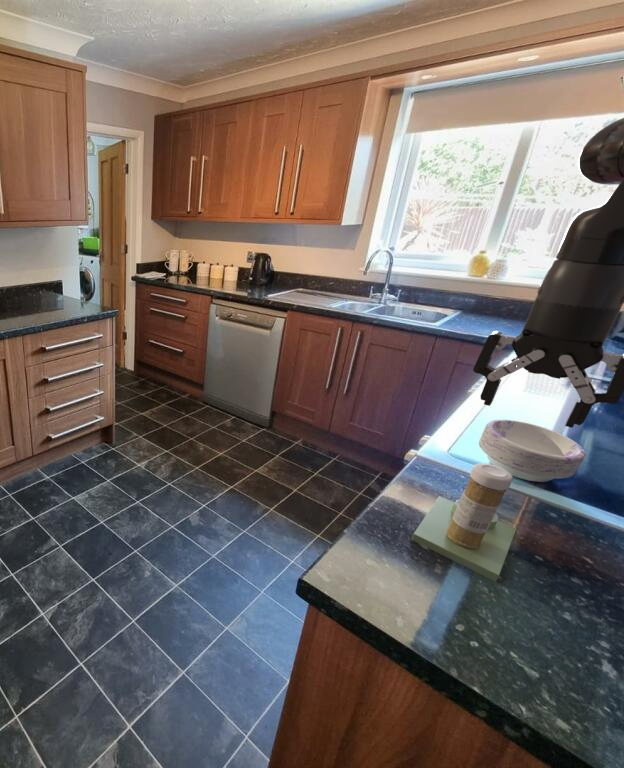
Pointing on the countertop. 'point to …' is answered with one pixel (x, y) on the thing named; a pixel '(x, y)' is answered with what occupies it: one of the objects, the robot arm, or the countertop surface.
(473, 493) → the sprinkles bottle
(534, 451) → the paper bowls
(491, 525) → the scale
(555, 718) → the countertop surface
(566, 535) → the countertop surface
